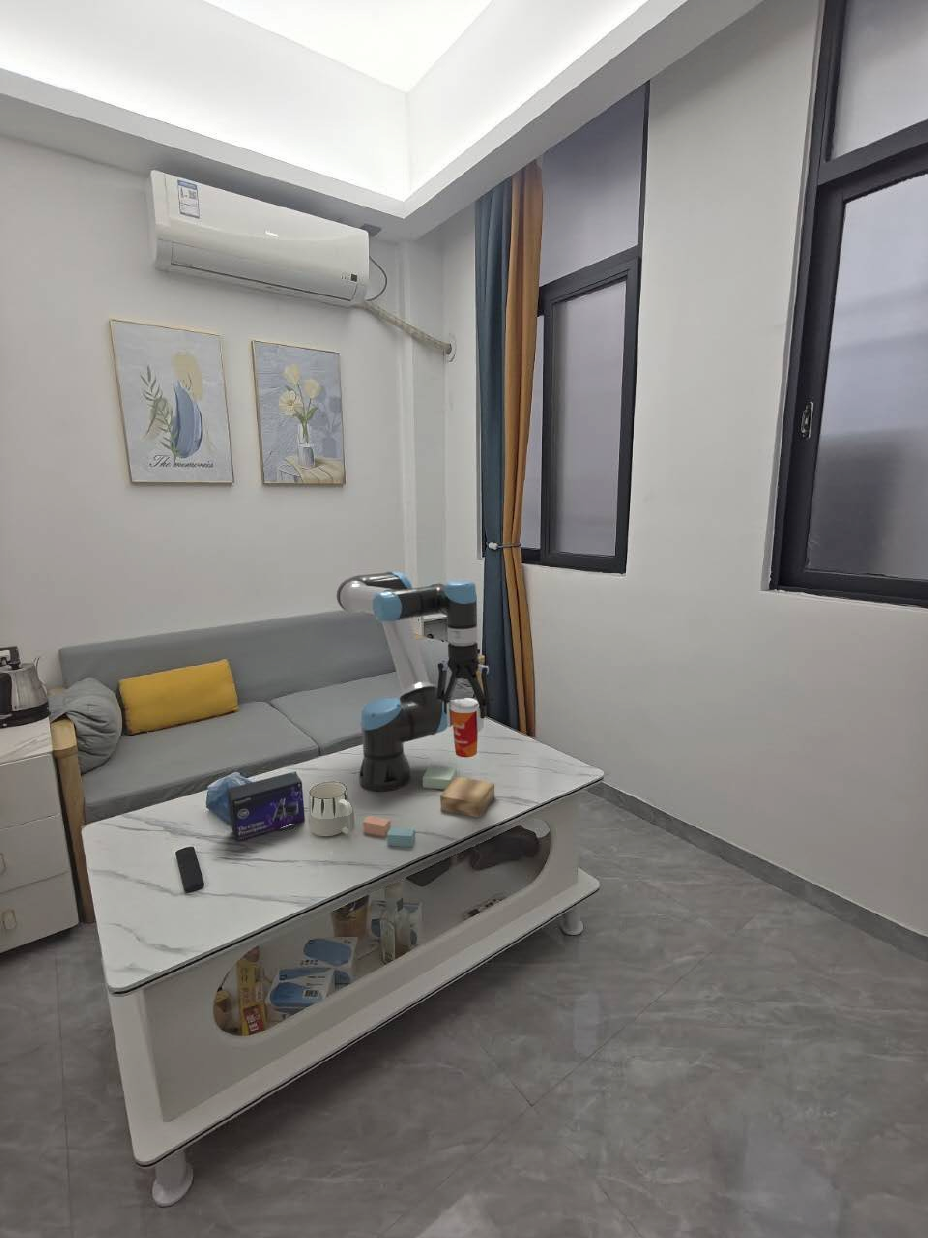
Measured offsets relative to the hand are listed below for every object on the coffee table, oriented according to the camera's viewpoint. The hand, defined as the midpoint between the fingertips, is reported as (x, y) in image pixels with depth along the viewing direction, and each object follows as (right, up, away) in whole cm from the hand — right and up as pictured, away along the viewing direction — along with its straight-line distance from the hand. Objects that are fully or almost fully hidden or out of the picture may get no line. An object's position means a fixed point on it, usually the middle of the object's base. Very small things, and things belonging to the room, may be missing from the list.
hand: (465, 727), depth 150 cm
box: (-50, -25, -3) cm, 56 cm away
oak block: (+1, -21, +5) cm, 22 cm away
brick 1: (-22, -25, -7) cm, 34 cm away
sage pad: (-7, -19, +16) cm, 26 cm away
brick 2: (-15, -25, -12) cm, 32 cm away
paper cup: (0, -7, +1) cm, 7 cm away
